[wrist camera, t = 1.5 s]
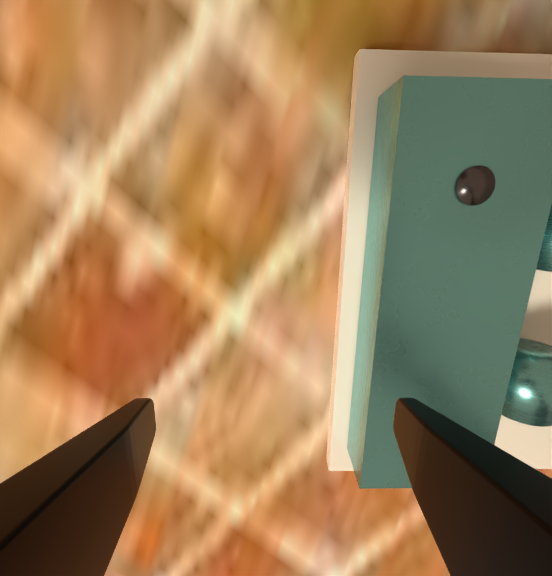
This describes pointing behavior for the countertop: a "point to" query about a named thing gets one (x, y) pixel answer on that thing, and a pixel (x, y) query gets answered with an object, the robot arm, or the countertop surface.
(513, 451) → the cream base board
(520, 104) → the teal hinge leaf
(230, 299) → the countertop surface
